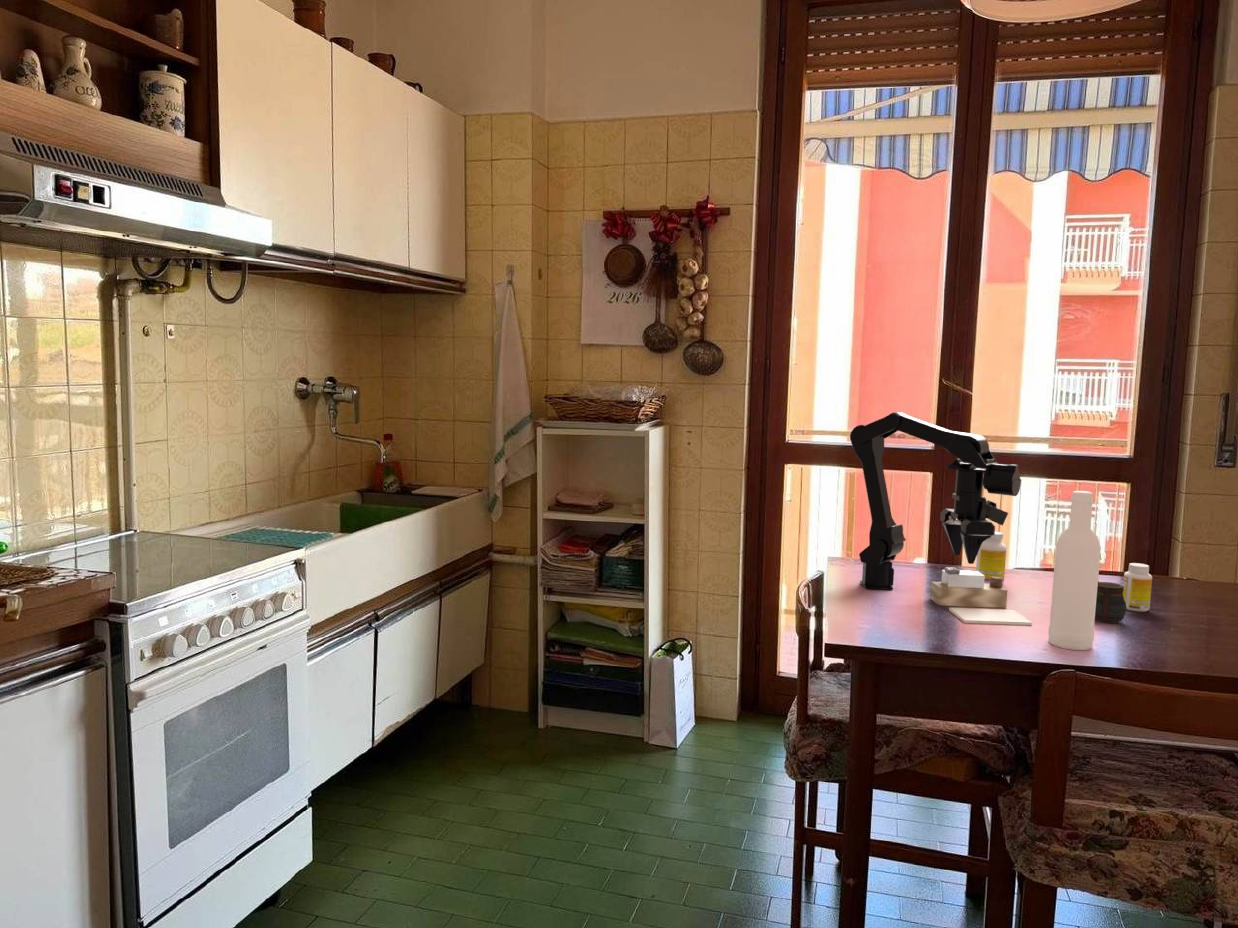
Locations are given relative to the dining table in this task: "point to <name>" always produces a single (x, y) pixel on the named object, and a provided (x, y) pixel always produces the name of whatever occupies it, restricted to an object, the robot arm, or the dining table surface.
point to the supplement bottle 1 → (992, 558)
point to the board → (990, 616)
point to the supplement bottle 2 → (1137, 587)
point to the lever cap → (962, 578)
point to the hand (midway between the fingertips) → (963, 559)
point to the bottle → (1075, 579)
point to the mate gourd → (1110, 602)
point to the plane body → (971, 595)
